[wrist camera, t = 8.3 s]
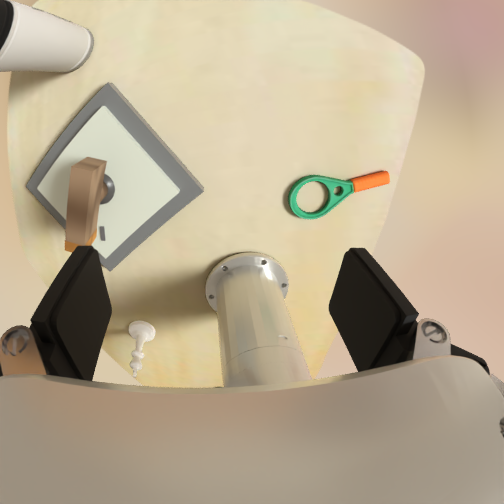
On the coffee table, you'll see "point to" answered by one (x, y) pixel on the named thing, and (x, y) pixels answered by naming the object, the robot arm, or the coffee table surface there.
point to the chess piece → (140, 341)
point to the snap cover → (117, 174)
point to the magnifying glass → (331, 183)
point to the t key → (84, 202)
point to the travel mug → (40, 40)
